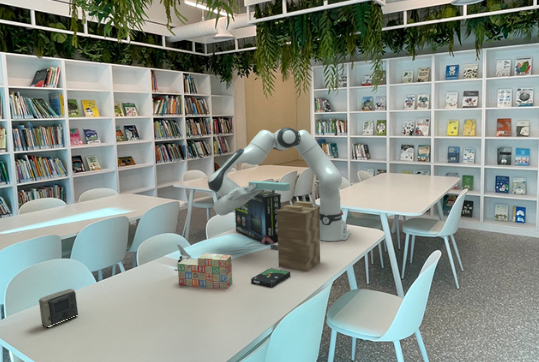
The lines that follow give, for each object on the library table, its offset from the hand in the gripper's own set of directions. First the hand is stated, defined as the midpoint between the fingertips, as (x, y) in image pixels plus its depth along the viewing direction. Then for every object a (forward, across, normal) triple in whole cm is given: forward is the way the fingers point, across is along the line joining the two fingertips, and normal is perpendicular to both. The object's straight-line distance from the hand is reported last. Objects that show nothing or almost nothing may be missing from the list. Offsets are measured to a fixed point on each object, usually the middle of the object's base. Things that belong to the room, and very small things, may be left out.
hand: (259, 184), depth 204 cm
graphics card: (-16, +25, +33) cm, 45 cm away
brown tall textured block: (0, 0, +41) cm, 41 cm away
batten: (+4, 0, +4) cm, 6 cm away
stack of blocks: (-21, -38, +30) cm, 53 cm away
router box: (-38, +31, +20) cm, 53 cm away
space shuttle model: (-34, -23, +23) cm, 47 cm away
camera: (-40, -88, +19) cm, 98 cm away
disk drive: (-2, -22, +41) cm, 47 cm away
